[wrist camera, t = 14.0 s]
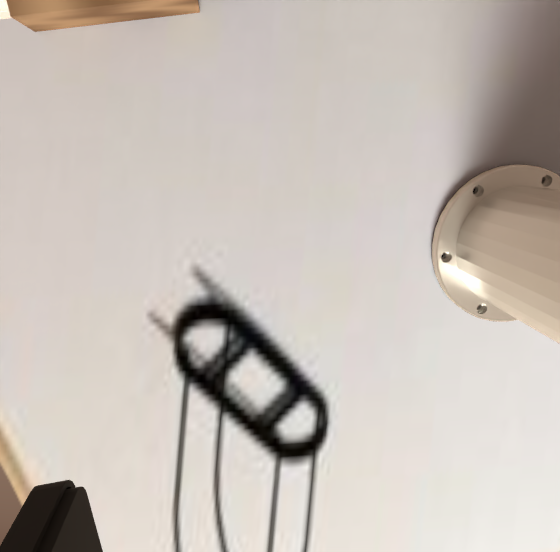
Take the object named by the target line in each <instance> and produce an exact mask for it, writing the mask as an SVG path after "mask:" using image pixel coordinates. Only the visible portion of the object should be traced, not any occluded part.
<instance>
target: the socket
mask: <svg viewBox="0 0 560 552" xmlns="http://www.w3.org/2000/svg"><path fill="white" fill-rule="evenodd" d="M6 1H7V5H8V9H9V13H10V17H12V18H14V19H15V20H17V21H19V22H20V23H22V24H23V25H25V26H27V27H28V28H30V29H31V30H33V31H35V32H37V31H46V30H54V29H63V28H71V27H80V26H88V25H97V24H105V23H114V22H122V21H131V20H139V19H148V18H156V17H165V16H173V15H182V14H190V13H199V12H200V11H199V4H198V0H6Z"/></svg>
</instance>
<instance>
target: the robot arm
mask: <svg viewBox="0 0 560 552" xmlns="http://www.w3.org/2000/svg"><path fill="white" fill-rule="evenodd" d="M541 181H542V182H541ZM474 187H475V192H474V193H473V189H474ZM443 253H444V256H443V257H442V258H441V255H442V254H443ZM432 261H433V266H434V271H435V275H436V277H437V280H438V282H439V284H440V287H441V288H442V289H443V291H444V292H445V294H446V295H447V296H448V298H449V299H450V300H451V301H453V302H454V303H455V304H456V305H457V306H458V307H460V308H461V309H463V310H464V311H466V312H467V313H469V314H471V315H473V316H475V317H477V318H480V319H485V320H489V321H499V322H508V321H514V320H519V321H521V322H523V323H525V324H526V325H528V326H530V327H531V328H533V329H535V330H537V331H538V332H540V333H542V334H544V335H545V336H547V337H549V338H550V339H552V340H554V341H556V342H557V343H559V344H560V176H558V175H557V174H556V173H554V172H552V171H549V170H547V169H544V168H542V167H537V166H531V165H514V164H513V165H507V166H500V167H496V168H493V169H491V170H488V171H485V172H483V173H481V174H479V175H478V176H476V177H474V178H472V179H471V180H470V181H468V182H467V183H466V184H465V185H464V186H462V187H461V188H460V189H459V190H458V191H457V192H456V193H455V195H454V196H453V197H452V198H451V199H450V200H449V202H448V203H447V205H446V207H445V208H444V210H443V212H442V214H441V215H440V218H439V220H438V223H437V226H436V228H435V232H434V238H433V243H432ZM478 306H479V307H478ZM477 307H478V308H477ZM0 552H103V551H102V547H101V544H100V540H99V536H98V533H97V529H96V525H95V522H94V518H93V514H92V511H91V507H90V503H89V500H88V496H87V493H86V490H85V489H84V487H75V485H74V483H73V482H72V481H70V480H66V481H60V482H55V483H49V484H44V485H38V486H36V487H34V488H33V489H32V491H31V492H30V494H29V496H28V498H27V499H26V501H25V503H24V505H23V507H22V508H21V510H20V512H19V514H18V515H17V517H16V519H15V521H14V522H13V524H12V526H11V528H10V530H9V532H8V533H7V535H6V537H5V539H4V540H3V542H2V544H1V546H0Z"/></svg>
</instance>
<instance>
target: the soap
mask: <svg viewBox="0 0 560 552" xmlns="http://www.w3.org/2000/svg"><path fill="white" fill-rule="evenodd" d="M7 18H12V17H10V13H9V9H8V5H7V1H6V0H0V19H7Z"/></svg>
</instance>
